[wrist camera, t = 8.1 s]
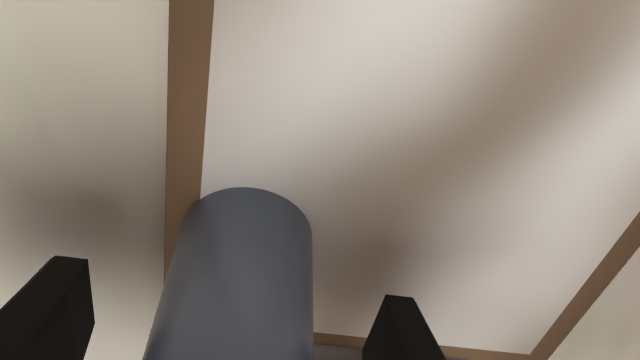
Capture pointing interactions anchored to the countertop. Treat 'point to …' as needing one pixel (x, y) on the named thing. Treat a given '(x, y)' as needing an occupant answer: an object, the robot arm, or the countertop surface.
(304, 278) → the bottle
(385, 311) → the robot arm
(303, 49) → the picture frame
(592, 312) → the countertop surface
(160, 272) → the countertop surface
